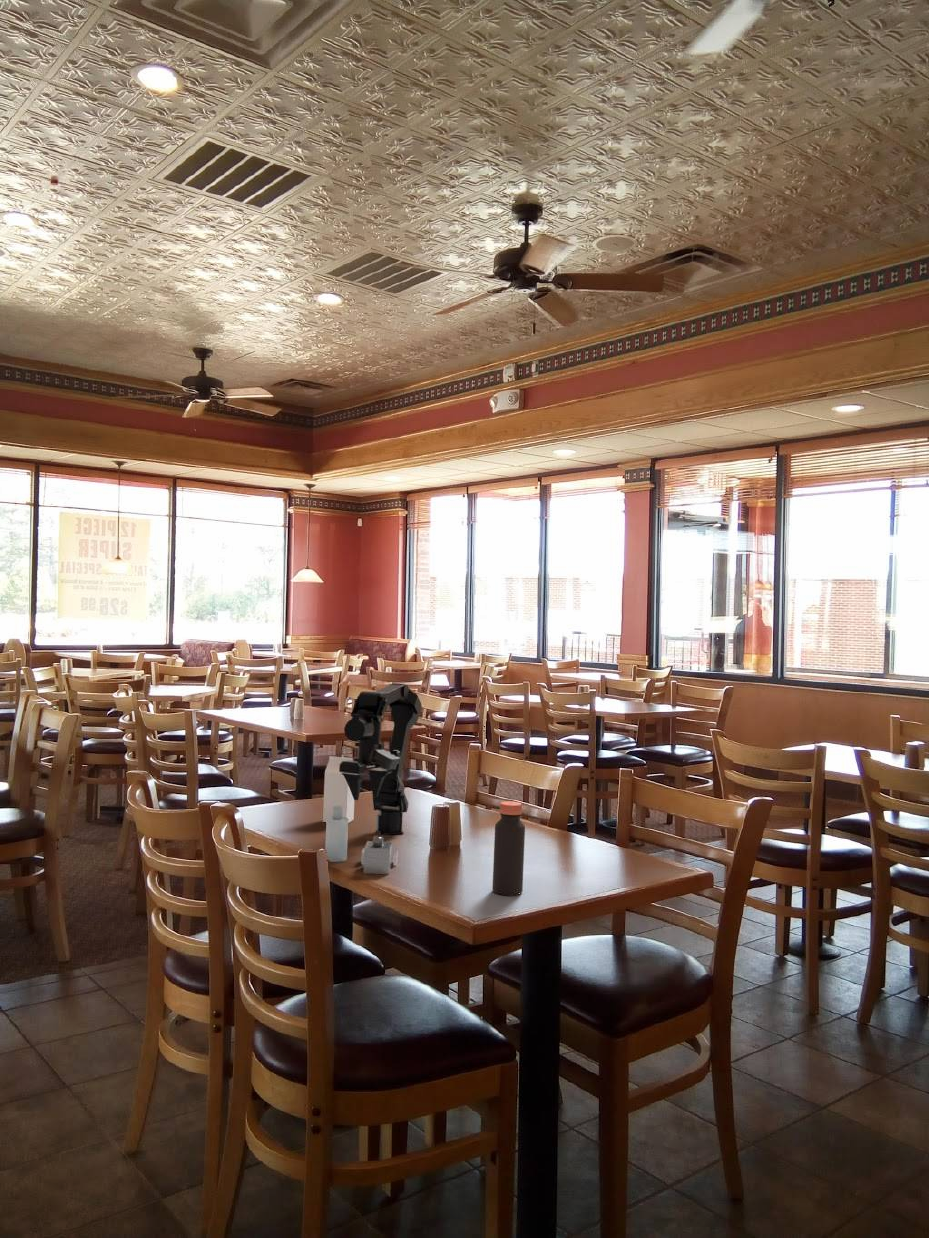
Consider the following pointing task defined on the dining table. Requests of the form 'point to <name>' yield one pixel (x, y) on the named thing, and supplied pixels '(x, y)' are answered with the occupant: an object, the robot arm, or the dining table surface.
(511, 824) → the bottle
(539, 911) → the dining table surface
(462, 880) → the dining table surface
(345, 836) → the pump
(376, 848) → the motor
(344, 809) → the milk carton
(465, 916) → the dining table surface
